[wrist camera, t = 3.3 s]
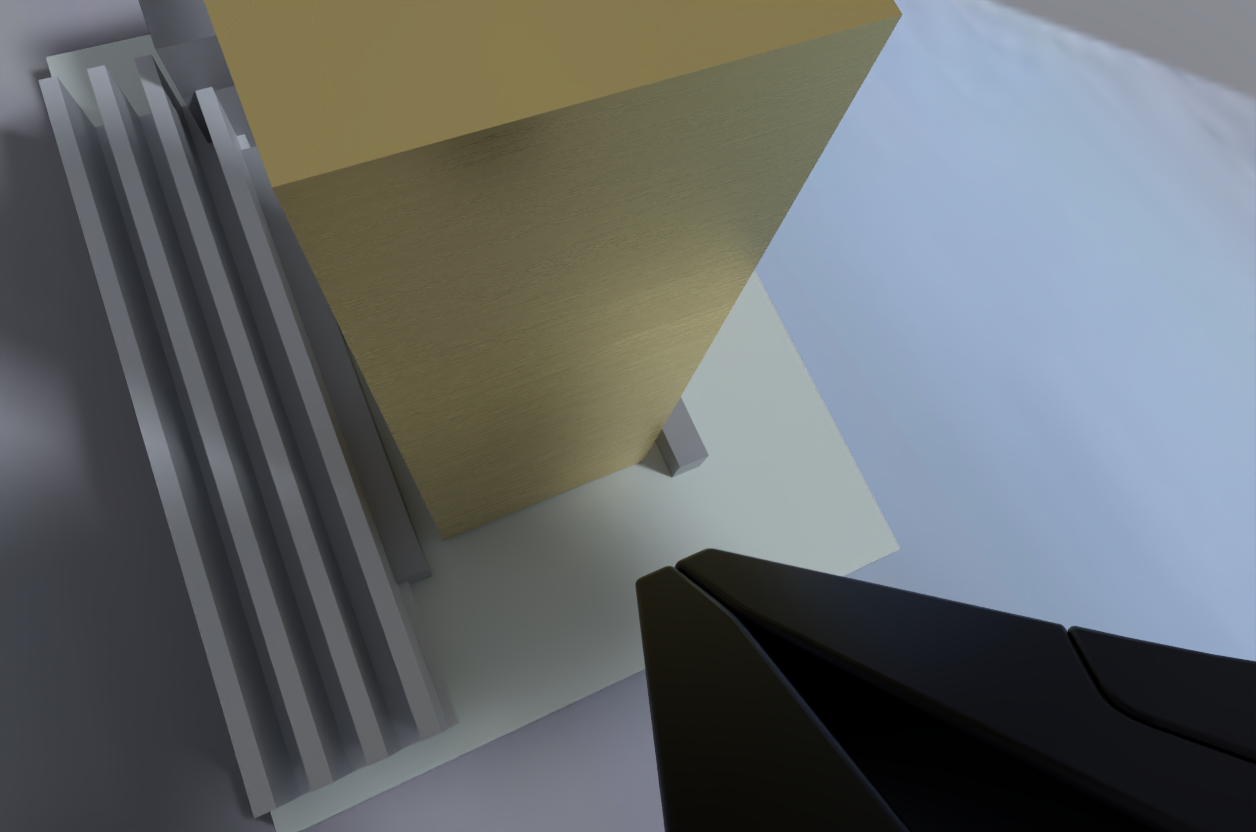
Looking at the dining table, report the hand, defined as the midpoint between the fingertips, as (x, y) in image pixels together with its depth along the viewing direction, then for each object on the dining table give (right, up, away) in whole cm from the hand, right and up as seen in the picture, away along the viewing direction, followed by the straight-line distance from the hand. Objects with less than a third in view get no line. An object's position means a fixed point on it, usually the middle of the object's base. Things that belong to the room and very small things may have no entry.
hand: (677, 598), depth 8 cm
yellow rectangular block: (-3, +3, +8) cm, 9 cm away
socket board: (-4, +4, +9) cm, 11 cm away
